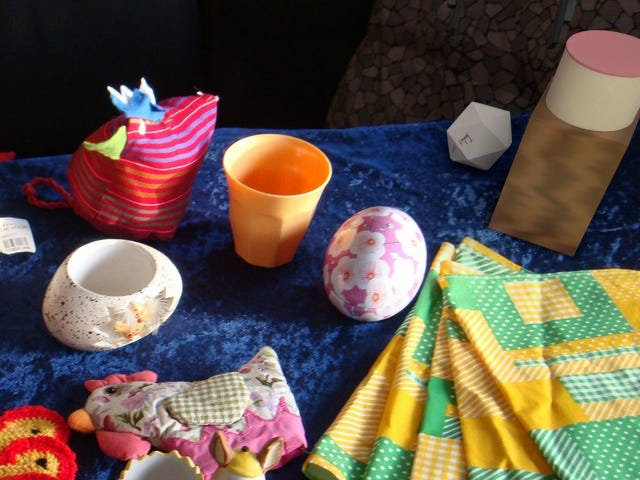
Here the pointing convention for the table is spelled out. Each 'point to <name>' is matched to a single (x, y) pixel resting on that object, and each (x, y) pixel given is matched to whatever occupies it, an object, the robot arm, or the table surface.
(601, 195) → the brown piece
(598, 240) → the table surface
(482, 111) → the die
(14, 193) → the table surface
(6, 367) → the table surface
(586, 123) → the yogurt
